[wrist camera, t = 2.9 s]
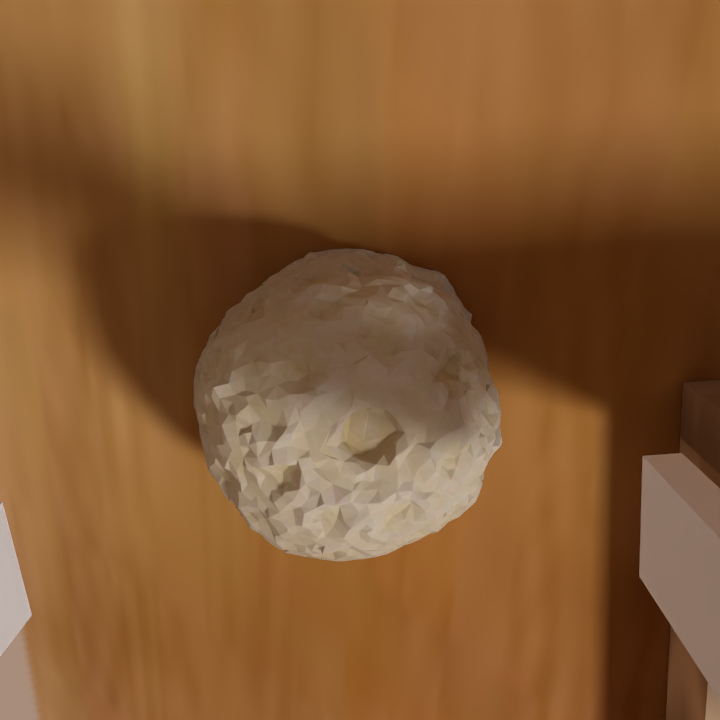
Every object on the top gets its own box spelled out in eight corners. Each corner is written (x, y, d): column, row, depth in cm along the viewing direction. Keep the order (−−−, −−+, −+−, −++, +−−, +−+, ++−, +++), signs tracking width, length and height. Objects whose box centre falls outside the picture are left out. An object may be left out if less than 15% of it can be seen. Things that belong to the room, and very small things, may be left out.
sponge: (401, 230, 25) (233, 117, 17) (600, 403, 21) (516, 374, 13) (258, 410, 28) (43, 394, 19) (413, 597, 23) (232, 689, 15)
